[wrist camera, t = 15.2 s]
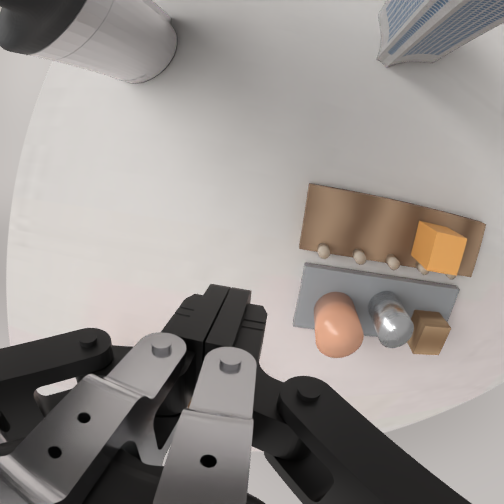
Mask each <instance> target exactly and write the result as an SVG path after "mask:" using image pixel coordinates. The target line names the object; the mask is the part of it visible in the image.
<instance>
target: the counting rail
mask: <svg viewBox="0 0 504 504" xmlns="http://www.w3.org/2000/svg"><path fill="white" fill-rule="evenodd" d="M419 221H423V222H427V223H432V224H436V225H440V226H444V227H448V228H450V229H451V230H453V231H455V232H457V233H458V234H460V235H462V236H463V237H465V238H467V242H466V246H465V250H464V253H463V257H462V260H461V263H460V267H459V270H458V273H457V275H461V276H467V277H471V276H472V273H473V269H474V266H475V263H476V260H477V256H478V253H479V250H480V246H481V242H482V238H483V235H484V231H485V226H486V224H484V223H482V222H480V221H476V220H473V219H469V218H466V217H462V216H459V215H455V214H451V213H447V212H444V211H440V210H436V209H432V208H428V207H424V206H420V205H415V204H411V203H407V202H402V201H398V200H393V199H389V198H384V197H379V196H375V195H370V194H365V193H360V192H355V191H349V190H344V189H339V188H333V187H327V186H321V185H315V184H309V187H308V194H307V201H306V207H305V213H304V220H303V226H302V232H301V238H300V244H299V249H304V250H310V251H316V252H318V254H319V257H320V258H322V259H326V258H328V257H329V256H330V254H335V255H341V256H348V257H354V259H355V261H356V263H357V264H359V265H362V264H364V263H365V262H366V260H372V261H378V262H384V263H387V264H388V265H389V267H390V268H391V269H392V270H396V269H398V268H399V266H400V265H402V266H408V267H414V268H417V269H418V270H419V271H420V272H421V273H422V274H423V275H426V274H428V273H429V271H427V270H426V269H425V268H424V267H423V266H422V265H421V264H420V263H419V262H418V261H417V260H416V259H415V258H414V257H412V256H411V252H412V248H413V244H414V240H415V236H416V232H417V228H418V224H419ZM445 275H446V276H447V277H448V278H449V279H454V278H455V277H456V275H450V274H445Z"/></svg>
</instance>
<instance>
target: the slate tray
mask: <svg viewBox="0 0 504 504" xmlns="http://www.w3.org/2000/svg"><path fill="white" fill-rule="evenodd" d="M382 291H390V292H393V293H394V294H395V295H396V296H397V298H398V299H399V301H400V302H401V304H402V306H403V307H404V309H405V311H406V312H407V314H408V316H409V317H410V319H411V318H412V315H413V312H414V310H423V311H432V312H439V313H440V314H441V315H442V317H443V318H444V319H445V321H446V322H447V321H448V319H449V316H450V314H451V311H452V309H453V306H454V303H455V301H456V298H457V295H458V293H459V289H458V288H457V287H456V286H454V285H447V284H440V283H434V282H427V281H421V280H414V279H408V278H401V277H395V276H388V275H382V274H375V273H369V272H362V271H356V270H349V269H343V268H337V267H330V266H324V265H317V264H311V263H305V265H304V270H303V276H302V281H301V286H300V291H299V296H298V301H297V306H296V310H295V315H294V320H293V326H294V327H301V328H308V329H315V324H314V306H315V304H316V302H317V301H318V299H319V298H321V297H322V296H323V295H325V294H327V293H330V292H341V293H344V294H346V295H348V296H349V297H350V298H351V299H352V301H353V303H354V306H355V309H356V312H357V315H358V318H359V321H360V324H361V327H362V330H363V335H365V336H375V337H378V335H377V332H376V330H375V327H374V325H373V322H372V319H371V317H370V314H369V312H368V304H369V302H370V300H371V298H372V297H373V296H374V295H375V294H377V293H379V292H382Z"/></svg>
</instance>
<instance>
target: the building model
mask: <svg viewBox="0 0 504 504" xmlns="http://www.w3.org/2000/svg"><path fill="white" fill-rule="evenodd" d="M378 17H379V23H380V30H381V37H382V38H381V49H380V52H379V54H378V57H377V60H379V61H380V62H382V63H383V64H384V65H385V67H389V66H391V65H394V64H397V63H402V62H408V61H413V62H427V63H433V62H435V61H437V60H438V59H440V58H442V57H443V56H445V55H447V54H448V53H450V52H452V51H453V50H455V49H457V48H459V47H460V46H462V45H464V44H466V43H467V42H469V41H471V40H473V39H475V38H476V37H478V36H480V35H482V34H484V33H485V32H487V31H489V30H491V29H493V28H495V27H497V26H499V25H500V24H502V23H504V0H387V1H386V3H385V5H384V6H383V8H382V9H381V11H380V13H379V14H378Z"/></svg>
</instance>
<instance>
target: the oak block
mask: <svg viewBox="0 0 504 504" xmlns="http://www.w3.org/2000/svg"><path fill="white" fill-rule="evenodd" d="M411 321H412V322H413V325H414V331H413V334H412V336H411V338H410V339H409V340H408V341H407V342H408V344H409V346H410V348H411V351H412V353H413V354H426V355H439V353H440V351H441V349H442V347H443V345H444V343H445V341H446V339H447V336H448V334H449V332H450V330H451V327H450V326H449V325H448V323H447V322H446V321H445V319H444V318H443V317H442V315H441V314H440V313H439V312H432V311H423V310H414V312H413V315H412V318H411Z"/></svg>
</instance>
